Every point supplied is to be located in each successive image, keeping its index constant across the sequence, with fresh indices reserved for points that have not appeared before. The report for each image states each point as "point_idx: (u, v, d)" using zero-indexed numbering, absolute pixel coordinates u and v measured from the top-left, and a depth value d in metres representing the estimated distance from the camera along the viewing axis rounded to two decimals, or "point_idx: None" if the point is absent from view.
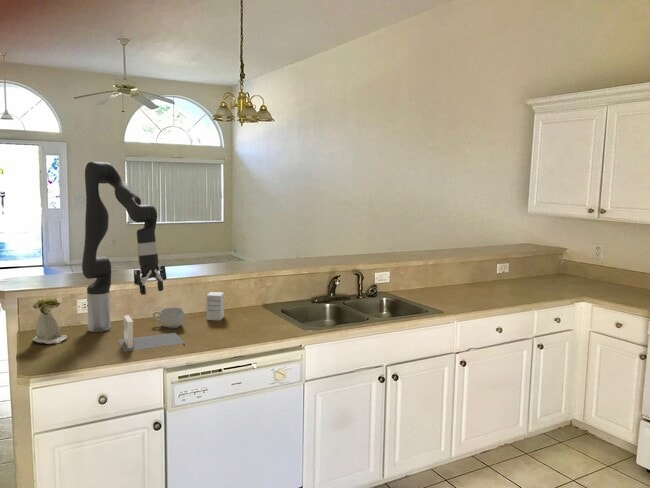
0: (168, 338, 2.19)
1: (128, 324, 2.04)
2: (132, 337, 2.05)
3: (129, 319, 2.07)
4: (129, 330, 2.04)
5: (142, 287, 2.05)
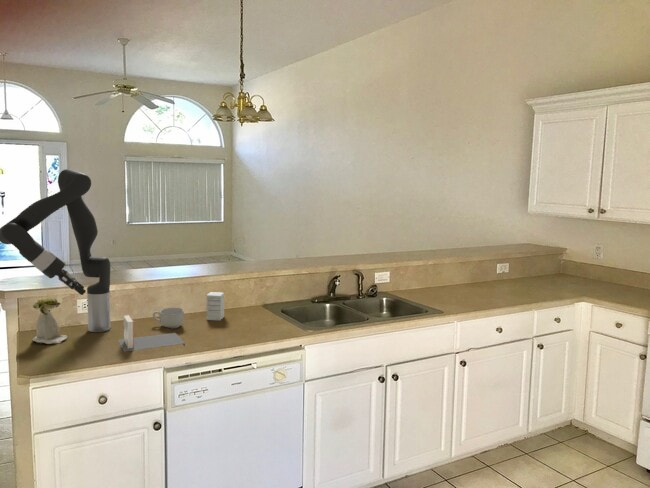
0: (168, 338, 2.19)
1: (128, 324, 2.04)
2: (132, 337, 2.05)
3: (129, 319, 2.07)
4: (129, 330, 2.04)
5: None
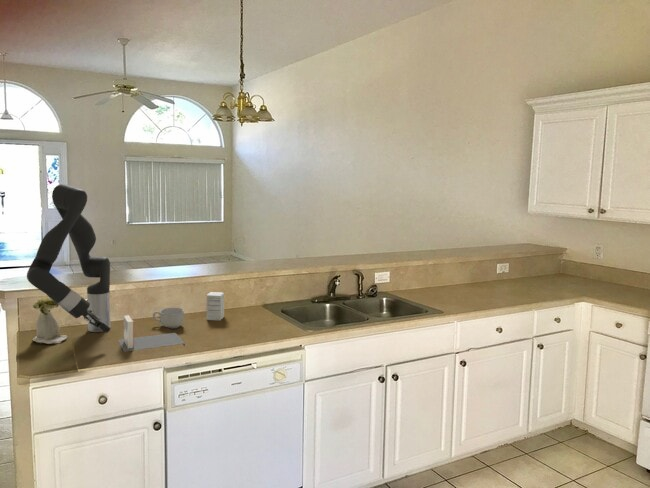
0: (168, 338, 2.19)
1: (128, 324, 2.04)
2: (132, 337, 2.05)
3: (129, 319, 2.07)
4: (129, 330, 2.04)
5: None
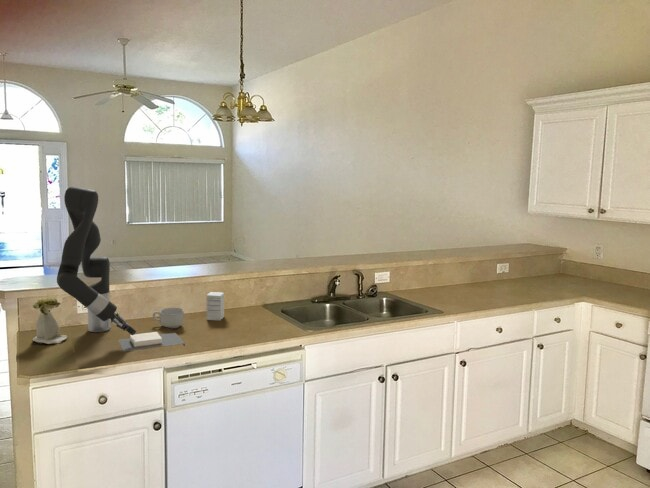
0: (168, 338, 2.19)
1: (159, 339, 2.11)
2: (145, 344, 2.08)
3: None
4: (153, 341, 2.10)
5: None
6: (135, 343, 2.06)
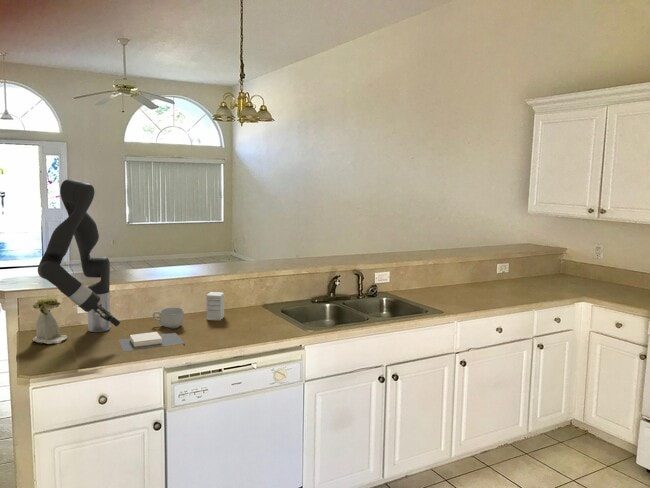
0: (168, 338, 2.19)
1: (159, 339, 2.11)
2: (145, 344, 2.08)
3: None
4: (153, 341, 2.10)
5: None
6: (135, 343, 2.06)
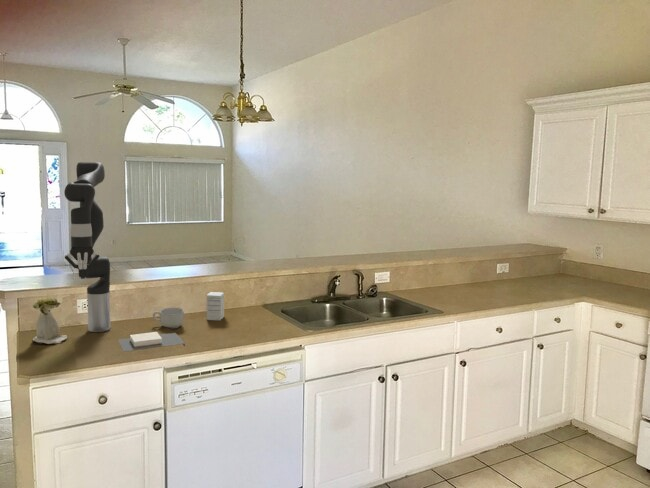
0: (168, 338, 2.19)
1: (159, 339, 2.11)
2: (145, 344, 2.08)
3: None
4: (153, 341, 2.10)
5: (79, 271, 2.00)
6: (135, 343, 2.06)
